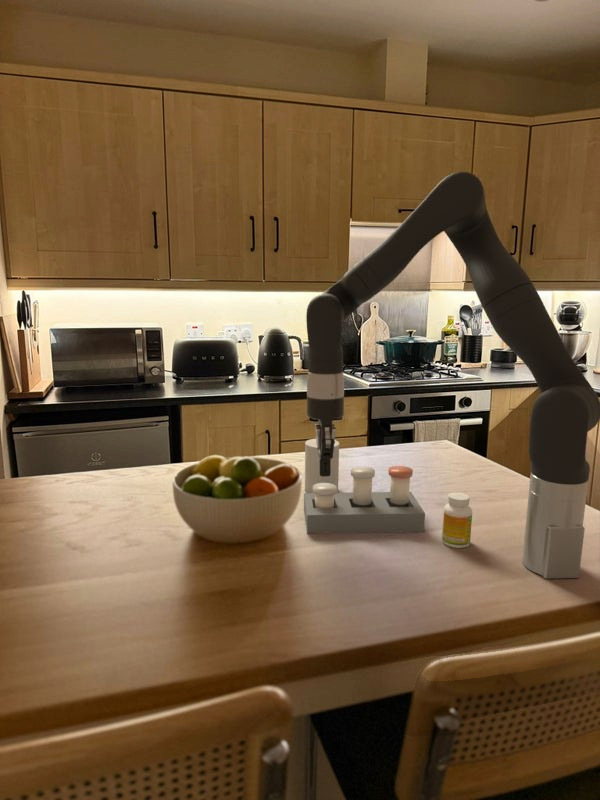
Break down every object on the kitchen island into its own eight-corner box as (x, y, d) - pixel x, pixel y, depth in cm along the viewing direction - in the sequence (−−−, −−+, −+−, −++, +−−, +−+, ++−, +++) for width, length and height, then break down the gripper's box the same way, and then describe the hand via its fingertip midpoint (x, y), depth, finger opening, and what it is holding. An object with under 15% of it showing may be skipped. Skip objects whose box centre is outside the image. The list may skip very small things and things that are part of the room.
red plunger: (413, 505, 120) (415, 473, 118) (390, 505, 120) (391, 473, 118) (408, 496, 125) (409, 465, 123) (385, 496, 125) (386, 465, 123)
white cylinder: (338, 485, 144) (339, 438, 141) (337, 497, 136) (338, 448, 133) (306, 483, 144) (306, 437, 142) (303, 495, 136) (303, 447, 134)
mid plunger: (375, 505, 120) (376, 474, 118) (351, 506, 119) (352, 474, 118) (371, 496, 124) (372, 466, 123) (348, 497, 124) (349, 466, 123)
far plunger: (337, 522, 120) (337, 491, 118) (313, 523, 120) (313, 491, 118) (334, 513, 125) (335, 482, 123) (311, 513, 125) (311, 482, 123)
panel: (424, 531, 117) (425, 513, 117) (307, 533, 116) (307, 515, 115) (410, 508, 129) (411, 491, 128) (303, 510, 128) (303, 493, 127)
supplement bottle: (471, 550, 110) (474, 502, 108) (442, 547, 111) (445, 500, 109) (468, 537, 115) (472, 492, 113) (441, 535, 116) (444, 489, 114)
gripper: (348, 400, 110) (346, 486, 114) (339, 387, 123) (338, 465, 126) (309, 400, 110) (309, 486, 113) (304, 388, 123) (304, 465, 126)
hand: (324, 475), depth 120 cm, fingers closed
